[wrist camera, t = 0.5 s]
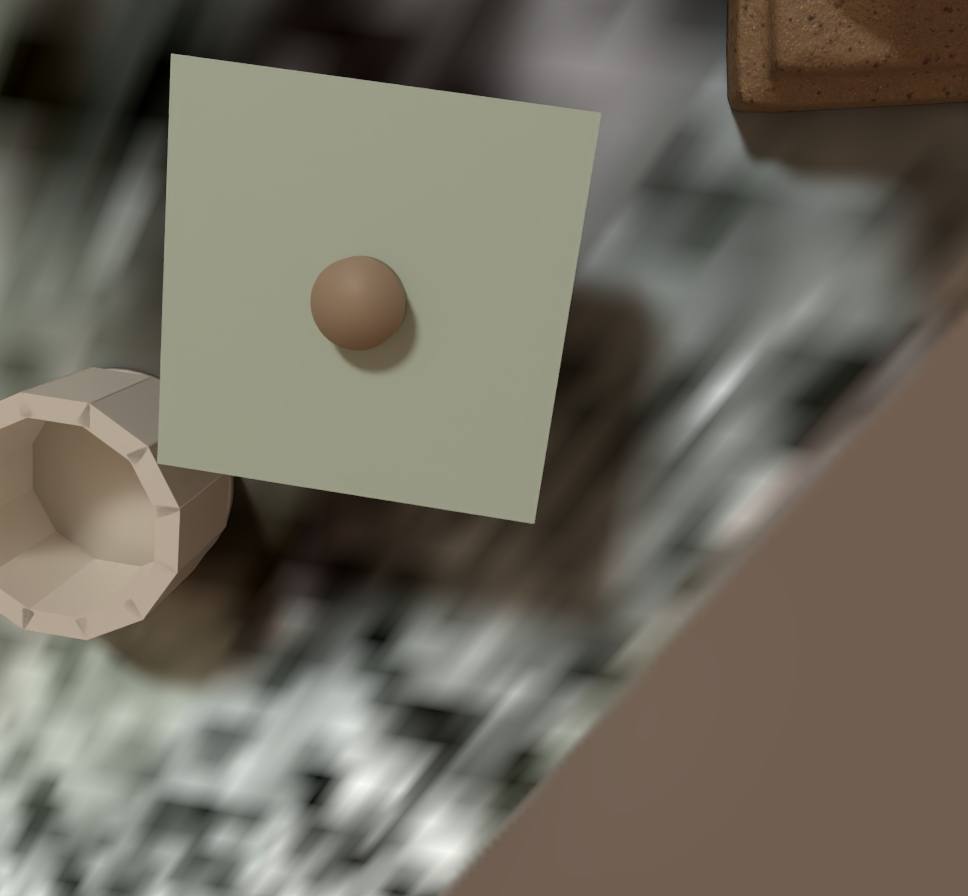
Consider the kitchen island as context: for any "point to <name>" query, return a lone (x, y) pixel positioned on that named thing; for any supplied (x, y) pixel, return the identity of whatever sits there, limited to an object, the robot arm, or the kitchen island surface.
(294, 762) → the kitchen island surface
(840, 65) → the candle holder
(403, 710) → the kitchen island surface
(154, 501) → the bowl
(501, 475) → the lid
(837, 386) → the kitchen island surface
